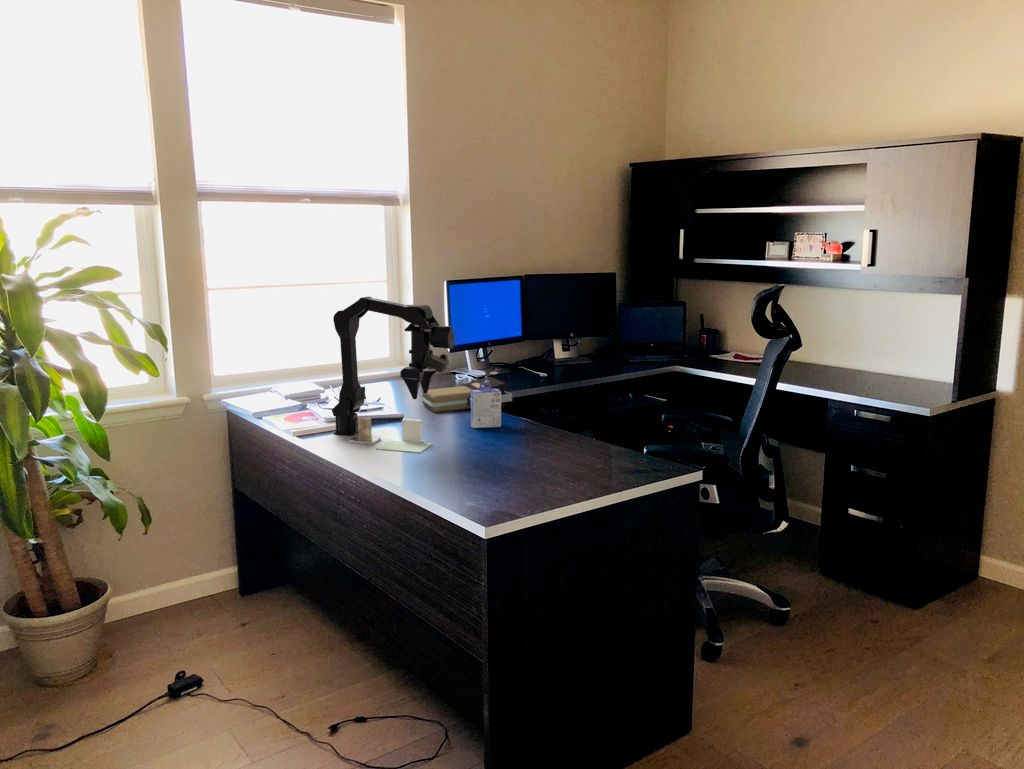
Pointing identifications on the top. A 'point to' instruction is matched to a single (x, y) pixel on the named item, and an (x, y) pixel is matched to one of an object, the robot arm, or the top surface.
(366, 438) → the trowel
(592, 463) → the top surface
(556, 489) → the top surface
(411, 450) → the mat
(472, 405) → the ink cartridge box
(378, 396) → the top surface
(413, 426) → the tile
